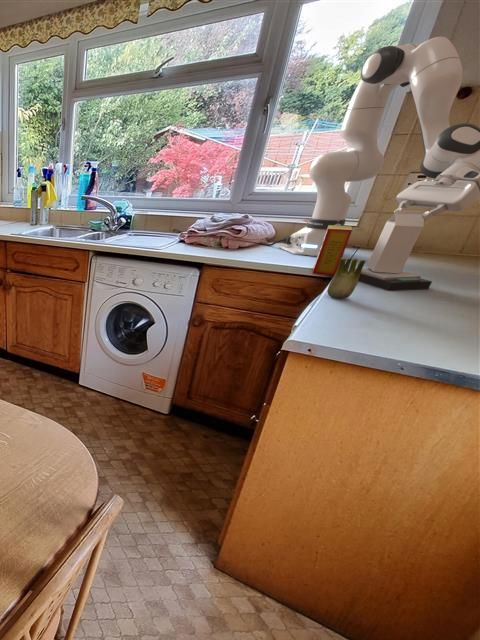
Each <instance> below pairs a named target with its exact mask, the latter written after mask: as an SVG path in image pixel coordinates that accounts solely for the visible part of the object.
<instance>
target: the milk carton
mask: <svg viewBox="0 0 480 640" xmlns="http://www.w3.org/2000/svg"><path fill="white" fill-rule="evenodd" d="M425 212H427V211H426V210H410V209H409V210H405V209H404V210H397V211H396V213H395V214H394V213H393V215H392V216H391V217H389V218H388V220H386V223H385V224H384V227H383V229H382V231H381V233H380V235H379V236H378V237H379V238H378V239H377V242H376V244H375V246H374V248H373V251H372V253H371V255H370V257H369V259H368V262H367V264H366V268H370V269H371V270H372V271H374V272H385V273H398V274H400V273H401V271H403V269H404V266H405V265H406V263H407V261H408V258H409V257H410V255H411V253H412V251H413V249H414V247H415V245H416V243H417V241H418V239H419V237H420V235H421V233H422V231H423V229H424V226H425V219H423V218H422V215H423V214H424V213H425Z"/></svg>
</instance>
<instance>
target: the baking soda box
mask: <svg viewBox="0 0 480 640" xmlns="http://www.w3.org/2000/svg"><path fill="white" fill-rule="evenodd" d="M352 232H353V228H352V226H351V225H344V226H336V225H328V228H327V231H326V234H325V237H324V239H323V242H322V245H321V248H320V251H319V254H318V256H316V260H315V263H314V266H313V268H312V274H314V275H322V276H323V275H324V276H331V277H332V276H333V277H334V275H335V274H336V271H337V269H338V266H339V262H340V259H341V258H343V256H344V253H345V250H346V248H347V245H348V242H349V240H350V238H351V234H352Z"/></svg>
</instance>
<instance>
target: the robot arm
mask: <svg viewBox="0 0 480 640" xmlns="http://www.w3.org/2000/svg"><path fill="white" fill-rule="evenodd" d="M458 53H459V52H458V51H457V49H456V48H455V45H453V43H452V42H451V40H450V39H449V38H447V37H445V36H435V37H432V38H429V39H427V40H425V41H424V42H422V43H406V44H399V45H386V46H382V47H379V48H377V49H375V50H374V51H372V52H371V53H370V54H369V55H368V56H367V57H366V59H365V60H364V62H363V64H362V66H361V70H360V79H361V80H359V82H358V84H357V86H356V87H355V90H354V91H353V93H352V96H351V98H350V101H349V103H348V106H347V108H346V111H345V115H344V118H343V121H342V124H341V127H340V131H339V134H340V137H341V138H342V139H343V140H345V143H346V150H345V151H344V150H343V151H341V150H340V151H330V152H327V153H323V154H320V155H318V156H317V157H315V158H314V160H313V161H312V162H311V164H310V166H309V169H308V173H309V178H310V179H311V180H312V182H313V183H314V185H315V187H316V196H317V197H316V202H315V206H314V209H313V212H312V216H311V217H310V218H306V219H305V220H306V221H305V223H306V224H305V226H303V228H301V229H299V230H298V231H296V232H294V233H292V234H291V235H283V238H282V239H279V240H276V241H273V242H271V243H266V242H263V241H259V242H260V243H258V244H259V245H263V246H265V247H272V246H274V245H276V244H278V243H283V244H282V245H280V246H279V249H282V250H283V251H286V252H289V253H292V254H294V255H299V256H300V255H302V256H311V257H318V254H319V251H320V248H321V245H322V242H323V239H324V237H325V234H326V231H327V228H328V225H336V226H346V225H345V224H346V218H347V214H348V212H349V209H350V205H351V204H352V197H351V195H350V194H349V193H348V192H346V190H345V189H346V188H345V186H346V183H350V182H351V183H352V182H361V181H362V182H363V181H366V180H369V179H372V178H374V177H376V176H377V175H379V173H380V172H381V171H382V169H383V168H384V164H385V158H384V155H383V153H382V152H381V151H380V150H379V147H378V131H379V127H380V124H381V121H382V118H383V115H384V113H385V110H386V107H387V103H388V100H389V97H390V95H391V93H392V92H393V91H394V89H395V88H396V87H398V86H400V87H401V88H405V87H407V86H410V90H411V93H412V97H413V100H414V103H415V107H416V112H417V117H418V122H419V130H420V135H421V141H422V147H423V157H422V160H421V162H420V165H419V168H420V169H419V170H420V172H421V174H422V175H424V176H425V177H426V178H425V179H422V180H419V181H416V182H414V183H413V184H411V185H409V186H408V187H406V188H404V190H402V191H401V192H399V193H398V194H397V195H396V197H395V199H396V201H397V203H398V207H397V208H396V209H394V211H393V215H394V214H395V213H396V211H397V210H405V209H407V208H409V207H414V208H423V209H424V208H425V209H432V210H427V211H426V212H425V213H424V214H423V215H422V218H423V219H424V220H428V221H429V220H431V218H433V217H435V216H438V215H440V214H443V213H445V212H446V211H450V212H460V211H463V210H466V209H467V208H469V207H470V206H471V205H473V204H474V203H475V202H477V201H478V200H479V199H480V126H478V125H477V124H474V123H469V122H463V123H462V122H461V123H457V124H453V125H450V113H451V110H452V109H451V108H452V106H453V104H454V101H455V98H456V97H457V94H458V92H459V90H460V87H461V85H462V83H463V65H462V62H461V59H460V56H459V54H458ZM175 231H177V232H179V233H181V234H183V233H182V232H183V231H184V230H180V229H179V228H176V227H175V228H174V229H172V232H175Z"/></svg>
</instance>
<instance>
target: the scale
mask: <svg viewBox="0 0 480 640" xmlns="http://www.w3.org/2000/svg"><path fill="white" fill-rule="evenodd" d="M355 270H356V268H355ZM355 270H354V272H355ZM358 282H360V283H363V284H366V285H370V286H373V287H375V288H379V289H382V290H385V291H411V290H412V291H413V290H429V289H430V287H431V285H432V282H433V281H432V280H428V279H425V278H422V277H421V275H418V274H414V273H410V272H407V271H403V270H402V271H401V273H400V274H398V273H385V272H374V271H372V270H371V269H370V268H368V267H366V268H365V267H363V268H362V270H361V273H360V276H359V279H358Z"/></svg>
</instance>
